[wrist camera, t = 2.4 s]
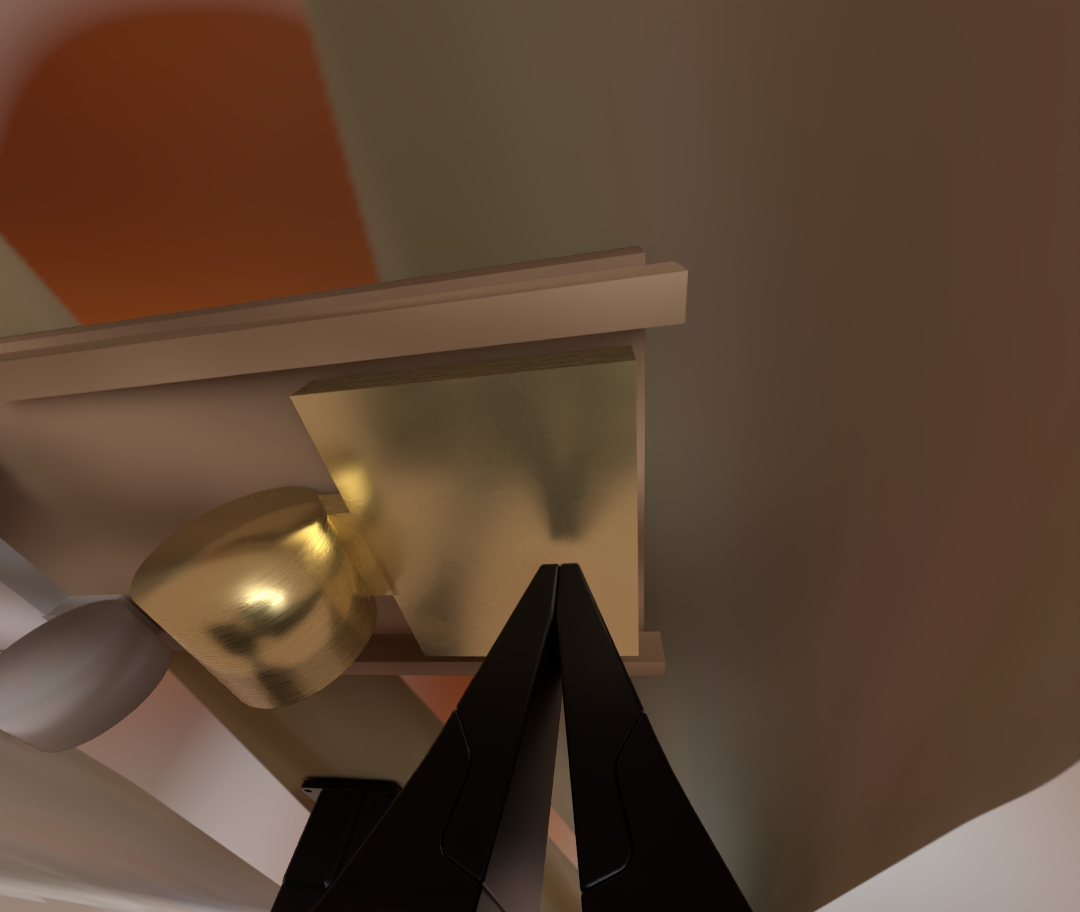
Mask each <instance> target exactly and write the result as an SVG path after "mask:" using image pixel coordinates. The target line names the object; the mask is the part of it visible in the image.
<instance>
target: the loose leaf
mask: <svg viewBox="0 0 1080 912" xmlns="http://www.w3.org/2000/svg"><path fill="white" fill-rule="evenodd" d="M290 398H291V400H292V402H293V404H294V406H295V408H296V410H297V412H298V414H299V415H300V417H301V419H302V421H303V423H304V425H305V427H306V429H307V431H308V433H309V435H310V437H311V438H312V440H313V442H314V444H315V446H316V448H317V450H318V452H319V454H320V456H321V458H322V460H323V461H324V463H325V465H326V467H327V469H328V471H329V473H330V475H331V477H332V479H333V481H334V483H335V484H336V486H337V488H338V490H339V492H340V493H335V494H320V495H316V494H315V493H314V492H312V491H310V490H308V489H304V488H298V487H283V488H275V489H269V490H264V491H260V492H256V493H253V494H250V495H247V496H244V497H241V498H238V499H236V500H233V501H231V502H228V503H226V504H224V505H222V506H219V507H217V508H215V509H213V510H211V511H209V512H207V513H205V514H204V515H202V516H200V517H198V518H197V519H195V520H193V521H192V522H190V523H189V524H187V525H185V526H184V527H182V528H181V529H180V530H178V531H177V532H175V533H174V534H173V535H171V536H170V537H169V538H168V539H166V540H165V541H164V542H163V543H161V544H160V545H159V546H158V547H157V548H156V549H155V550H154V551H153V552H152V553H151V554H150V555H149V556H148V557H147V558H146V559H145V561H144V562H143V563H142V564H141V566H140V567H139V569H138V570H137V572H136V573H135V576H134V578H133V580H132V583H131V587H130V594H131V597H132V599H133V601H134V602H135V603H136V604H137V605H138V606H139V607H140V608H141V609H143V610H144V611H145V612H146V613H147V614H148V615H149V616H150V617H151V618H152V619H153V620H154V621H155V622H157V623H158V624H159V625H160V626H161V627H162V628H163V629H164V630H165V631H166V632H167V633H168V634H169V635H171V636H172V637H173V638H174V639H175V640H176V641H177V642H178V643H179V644H180V645H181V646H182V647H183V648H185V649H186V650H187V651H188V652H189V653H190V654H191V655H192V656H193V657H194V658H195V659H196V660H197V661H199V662H200V663H201V664H202V665H203V666H204V667H205V668H206V669H207V670H208V671H209V672H210V673H212V674H213V675H214V676H215V677H216V678H217V679H218V680H219V681H220V682H221V683H222V684H223V685H224V686H226V687H227V688H228V689H229V690H230V691H231V692H232V693H233V694H234V695H235V696H236V697H237V698H238V699H240V700H241V701H242V702H243V703H245V704H247V705H248V706H252V707H255V708H263V709H267V708H277V707H282V706H286V705H289V704H293V703H296V702H298V701H300V700H303V699H305V698H307V697H309V696H311V695H313V694H314V693H316V692H318V691H319V690H321V689H323V688H324V687H326V686H327V685H328V684H330V683H331V682H332V681H334V680H335V679H336V678H337V677H339V676H340V675H341V674H342V673H343V672H344V671H345V670H346V669H347V668H348V667H349V666H350V665H351V664H352V663H353V662H354V661H355V659H356V658H357V657H358V656H359V654H360V653H361V652H362V650H363V649H364V647H365V646H366V644H367V643H368V641H369V639H370V637H371V635H372V632H373V630H374V627H375V624H376V620H377V613H378V610H377V602H376V599H375V597H374V596H377V595H393V596H394V598H395V600H396V602H397V603H398V605H399V607H400V609H401V611H402V613H403V615H404V617H405V619H406V621H407V623H408V625H409V626H410V628H411V630H412V632H413V634H414V636H415V638H416V640H417V642H418V644H419V646H420V648H421V649H422V651H423V653H424V655H425V656H487V654H488V652H489V651H490V649H491V647H492V646H493V644H494V642H495V641H496V639H497V637H498V636H499V634H500V632H501V631H502V629H503V627H504V626H505V624H506V622H507V621H508V619H509V617H510V616H511V614H512V612H513V611H514V609H515V607H516V606H517V604H518V602H519V601H520V599H521V597H522V596H523V594H524V592H525V590H526V589H527V587H528V585H529V584H530V582H531V580H532V579H533V577H534V575H535V574H536V572H537V570H538V569H539V567H540V566H541V565H543V564H559V565H561V564H563V563H578V564H579V565H580V567H581V569H582V572H583V574H584V576H585V578H586V581H587V583H588V585H589V587H590V590H591V592H592V594H593V596H594V599H595V601H596V603H597V605H598V608H599V610H600V612H601V614H602V617H603V619H604V621H605V623H606V626H607V628H608V630H609V632H610V635H611V637H612V639H613V641H614V644H615V646H616V648H617V650H618V653H619V655H620V656H639V632H638V522H637V413H636V359H635V356H634V353H633V350H632V347H631V345H628V346H619V347H610V348H601V349H592V350H582V351H573V352H564V353H555V354H546V355H537V356H528V357H519V358H510V359H500V360H491V361H482V362H473V363H464V364H455V365H446V366H437V367H428V368H419V369H409V370H400V371H391V372H382V373H373V374H364V375H355V376H346V377H337V378H327V379H318V380H312V381H310V382H309V383H308V384H306V385H305V386H303V387H302V388H301V389H299V390H298V391H296V392H295V393H293V394H292V395H291V396H290Z"/></svg>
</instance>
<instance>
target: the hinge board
mask: <svg viewBox="0 0 1080 912" xmlns="http://www.w3.org/2000/svg"><path fill="white" fill-rule="evenodd" d="M687 278H688V270H687V269H685V268H684V267H682V266H681V265H680V264H678V263H677V262H675V261H672V262H664V263H657V264H650V265H645V252H644V251H643V250H642V249H641V248H640V247H638V246H635V247H628V248H621V249H614V250H607V251H600V252H593V253H586V254H579V255H572V256H565V257H558V258H551V259H544V260H538V261H531V262H524V263H517V264H510V265H503V266H496V267H489V268H482V269H475V270H468V271H461V272H454V273H447V274H440V275H433V276H426V277H419V278H412V279H406V280H399V281H392V282H385V283H378V284H371V285H364V286H357V287H350V288H343V289H336V290H329V291H322V292H316V293H308V294H302V295H294V296H288V297H280V298H274V299H267V300H261V301H253V302H246V303H239V304H232V305H225V306H219V307H211V308H204V309H198V310H190V311H184V312H176V313H169V314H163V315H156V316H148V317H142V318H135V319H128V320H121V321H114V322H107V323H100V324H93V325H86V326H79V327H72V328H65V329H58V330H51V331H44V332H37V333H30V334H23V335H17V336H10V337H3V338H0V652H2V653H1V654H0V729H1V730H3V731H5V732H7V733H8V734H10V735H12V736H14V737H16V738H18V739H20V740H22V741H23V742H25V743H27V744H29V745H31V746H33V747H35V748H36V749H38V750H40V751H43V752H48V753H52V752H60V751H65V750H68V749H71V748H74V747H76V746H79V745H81V744H84V743H86V742H88V741H90V740H92V739H93V738H95V737H97V736H99V735H101V734H102V733H104V732H105V731H107V730H109V729H110V728H112V727H113V726H114V725H116V724H117V723H119V722H120V721H121V720H123V719H124V718H125V717H126V716H128V715H129V714H130V713H131V712H132V711H134V710H135V709H136V708H137V707H138V706H139V705H140V704H141V703H142V702H143V701H144V700H145V699H146V698H147V697H148V696H149V695H150V694H151V692H152V691H153V690H154V689H155V688H156V687H157V685H158V684H159V683H160V681H161V680H162V678H163V677H164V675H165V673H166V672H167V670H168V667H169V665H170V662H171V657H172V652H171V651H187V650H186V649H185V648H183V647H182V646H181V645H180V644H179V643H178V642H177V641H176V640H175V639H174V638H173V637H172V636H171V635H169V634H168V633H167V632H166V631H165V630H164V629H163V628H162V627H161V626H160V625H159V624H158V623H157V622H155V621H154V620H153V619H152V618H151V617H150V616H149V615H148V614H147V613H146V612H145V611H144V610H143V609H141V608H140V607H139V606H138V605H137V604H136V603H135V602H134V601H133V599H132V597H131V594H130V587H131V583H132V580H133V578H134V576H135V573H136V572H137V570H138V569H139V567H140V566H141V564H142V563H143V562H144V561H145V559H146V558H147V557H148V556H149V555H150V554H151V553H152V552H153V551H154V550H155V549H156V548H157V547H158V546H159V545H160V544H161V543H163V542H164V541H165V540H166V539H168V538H169V537H170V536H171V535H173V534H174V533H175V532H177V531H178V530H180V529H181V528H182V527H184V526H185V525H187V524H189V523H190V522H192V521H193V520H195V519H197V518H198V517H200V516H202V515H204V514H205V513H207V512H209V511H211V510H213V509H215V508H217V507H219V506H222V505H224V504H226V503H228V502H231V501H233V500H236V499H238V498H241V497H244V496H247V495H250V494H253V493H256V492H260V491H264V490H269V489H275V488H283V487H298V488H304V489H308V490H310V491H312V492H314V493H315V494H316V495H320V494H335V493H340V492H339V490H338V488H337V486H336V484H335V483H334V481H333V479H332V477H331V475H330V473H329V471H328V469H327V467H326V465H325V463H324V461H323V460H322V458H321V456H320V454H319V452H318V450H317V448H316V446H315V444H314V442H313V440H312V438H311V437H310V435H309V433H308V431H307V429H306V427H305V425H304V423H303V421H302V419H301V417H300V415H299V414H298V412H297V410H296V408H295V406H294V404H293V402H292V400H291V398H290V396H291V395H292V394H293V393H295V392H296V391H298V390H299V389H301V388H302V387H303V386H305V385H306V384H308V383H309V382H310V381H312V380H318V379H327V378H337V377H346V376H355V375H364V374H373V373H382V372H391V371H400V370H409V369H419V368H428V367H437V366H446V365H455V364H464V363H473V362H482V361H491V360H500V359H510V358H519V357H528V356H537V355H546V354H555V353H564V352H573V351H582V350H592V349H601V348H610V347H619V346H628V345H631V347H632V350H633V353H634V356H635V359H636V413H637V522H638V632H639V656H620V657H621V659H622V662H623V664H624V666H625V668H626V671H627V673H628V675H629V676H665V667H666V661H665V655H664V650H663V645H662V639H661V634H660V631H651V632H644V476H645V328H649V327H658V326H666V325H675V324H684V323H685V313H686V296H687ZM374 597H375V599H376V602H377V610H378V613H377V620H376V624H375V627H374V630H373V632H372V635H371V637H370V639H369V641H368V643H367V644H366V646H365V647H364V649H363V650H362V652H361V653H360V654H359V656H358V657H357V658H356V659H355V661H354V662H353V663H352V664H351V665H350V666H349V667H348V668H347V669H346V670H345V671H344V672H343V673H342V674H341V675H475V674H476V672H477V671H478V669H479V667H480V666H481V664H482V662H483V661H484V659H485V657H486V656H425V655H424V653H423V651H422V649H421V648H420V646H419V644H418V642H417V640H416V638H415V636H414V634H413V632H412V630H411V628H410V626H409V625H408V623H407V621H406V619H405V617H404V615H403V613H402V611H401V609H400V607H399V605H398V603H397V602H396V600H395V598H394V596H393V595H377V596H374Z"/></svg>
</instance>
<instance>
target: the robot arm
mask: <svg viewBox="0 0 1080 912" xmlns="http://www.w3.org/2000/svg"><path fill="white" fill-rule="evenodd" d="M562 692H563V702H564V713H565V724H566V735H567V747H568V758H569V769H570V780H571V791H572V802H573V813H574V824H575V836H576V846H577V858H578V869H579V880H580V889H581V892H582V895H581V902H582V912H753V911H752V909H751V907H750V906H749V904H748V902H747V901H746V899H745V897H744V895H743V894H742V892H741V890H740V888H739V887H738V885H737V883H736V882H735V880H734V878H733V876H732V875H731V873H730V871H729V869H728V868H727V866H726V864H725V863H724V861H723V859H722V857H721V856H720V854H719V852H718V850H717V849H716V847H715V845H714V843H713V842H712V840H711V838H710V837H709V835H708V833H707V831H706V830H705V828H704V826H703V824H702V823H701V821H700V819H699V818H698V816H697V814H696V812H695V811H694V809H693V807H692V805H691V803H690V802H689V800H688V798H687V796H686V794H685V792H684V791H683V789H682V787H681V785H680V783H679V781H678V780H677V778H676V776H675V774H674V772H673V770H672V768H671V766H670V764H669V762H668V760H667V758H666V756H665V754H664V752H663V750H662V748H661V746H660V743H659V741H658V739H657V737H656V735H655V733H654V731H653V728H652V726H651V724H650V722H649V719H648V717H647V715H646V714H645V713H644V709H643V706H642V704H641V702H640V700H639V697H638V695H637V693H636V691H635V688H634V686H633V684H632V682H631V679H630V677H629V675H628V673H627V671H626V668H625V666H624V664H623V662H622V659H621V657H620V655H619V653H618V650H617V648H616V646H615V644H614V641H613V639H612V637H611V635H610V632H609V630H608V628H607V626H606V623H605V621H604V619H603V617H602V614H601V612H600V610H599V608H598V605H597V603H596V601H595V599H594V596H593V594H592V592H591V590H590V587H589V585H588V583H587V581H586V578H585V576H584V574H583V572H582V569H581V567H580V565H579V564H578V563H563V564H561V565H559V564H543V565H541V566H540V567H539V569H538V570H537V572H536V574H535V575H534V577H533V579H532V580H531V582H530V584H529V585H528V587H527V589H526V590H525V592H524V594H523V596H522V597H521V599H520V601H519V602H518V604H517V606H516V607H515V609H514V611H513V612H512V614H511V616H510V617H509V619H508V621H507V622H506V624H505V626H504V627H503V629H502V631H501V632H500V634H499V636H498V637H497V639H496V641H495V642H494V644H493V646H492V647H491V649H490V651H489V652H488V654H487V656H486V657H485V659H484V661H483V662H482V664H481V666H480V667H479V669H478V671H477V672H476V674H475V676H474V678H473V679H472V681H471V682H470V684H469V686H468V688H467V689H466V691H465V693H464V694H463V696H462V698H461V699H460V701H459V702H458V704H457V710H456V709H455V710H454V711H453V712H452V714H451V716H450V717H449V719H448V721H447V722H446V724H445V726H444V727H443V729H442V731H441V732H440V734H439V735H438V737H437V738H436V740H435V742H434V743H433V745H432V746H431V748H430V750H429V751H428V753H427V754H426V756H425V757H424V759H423V760H422V762H421V763H420V765H419V766H418V768H417V769H416V770H415V772H414V773H413V775H412V776H411V778H410V779H409V780H408V782H407V783H406V785H405V786H404V788H403V789H402V790H401V789H400V788H399V787H398V786H396V785H393V784H382V783H361V782H339V781H318V780H305V781H304V782H303V784H302V786H301V789H300V790H301V791H302V792H303V793H305V794H306V795H307V796H308V797H309V798H311V799H312V800H313V801H314V802H315V805H314V807H313V810H312V812H311V814H310V817H309V819H308V821H307V824H306V826H305V828H304V831H303V833H302V835H301V838H300V840H299V842H298V845H297V847H296V849H295V852H294V854H293V856H292V859H291V861H290V863H289V866H288V868H287V870H286V873H285V875H284V878H283V883H282V886H281V888H280V890H279V893H278V895H277V897H276V900H275V902H274V904H273V907H272V909H271V911H270V912H539V911H540V902H541V892H542V882H543V873H544V863H545V854H546V844H547V835H548V824H549V816H550V806H551V797H552V787H553V778H554V768H555V758H556V749H557V739H558V730H559V720H560V711H561V701H562Z"/></svg>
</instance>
